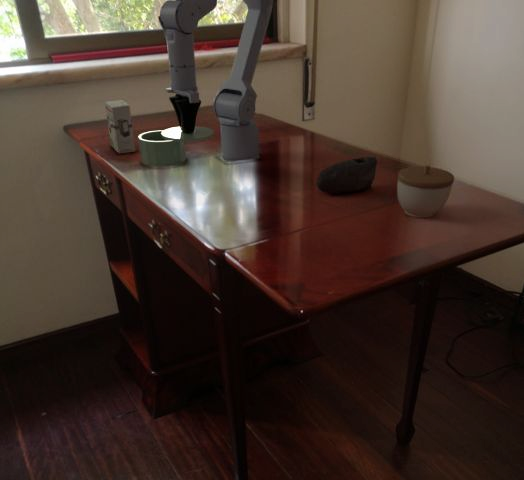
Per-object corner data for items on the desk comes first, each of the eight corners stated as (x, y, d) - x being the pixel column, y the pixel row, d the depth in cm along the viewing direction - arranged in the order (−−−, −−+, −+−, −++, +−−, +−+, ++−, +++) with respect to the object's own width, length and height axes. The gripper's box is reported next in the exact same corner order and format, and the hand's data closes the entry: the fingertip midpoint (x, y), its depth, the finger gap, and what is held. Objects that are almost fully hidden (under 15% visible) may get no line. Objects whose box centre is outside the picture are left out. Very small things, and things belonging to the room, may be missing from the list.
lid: (203, 128, 131) (201, 104, 128) (221, 140, 122) (220, 114, 119) (155, 133, 127) (152, 108, 124) (170, 146, 118) (167, 119, 115)
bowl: (178, 153, 143) (176, 128, 140) (191, 165, 135) (189, 138, 131) (137, 158, 139) (133, 133, 136) (148, 170, 131) (144, 143, 127)
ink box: (110, 146, 149) (103, 101, 142) (127, 144, 151) (121, 99, 144) (118, 154, 143) (111, 107, 136) (136, 151, 145) (130, 105, 138)
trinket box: (437, 226, 103) (447, 178, 97) (385, 215, 107) (391, 168, 102) (452, 209, 110) (462, 163, 105) (403, 199, 115) (410, 155, 109)
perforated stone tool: (320, 199, 115) (322, 166, 111) (310, 191, 119) (312, 159, 115) (381, 191, 119) (385, 159, 115) (369, 184, 123) (373, 153, 119)
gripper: (155, 62, 120) (162, 125, 128) (174, 71, 109) (180, 139, 117) (185, 60, 122) (189, 122, 130) (206, 69, 112) (210, 136, 120)
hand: (187, 130), depth 124 cm, fingers closed on lid, 2 cm apart
